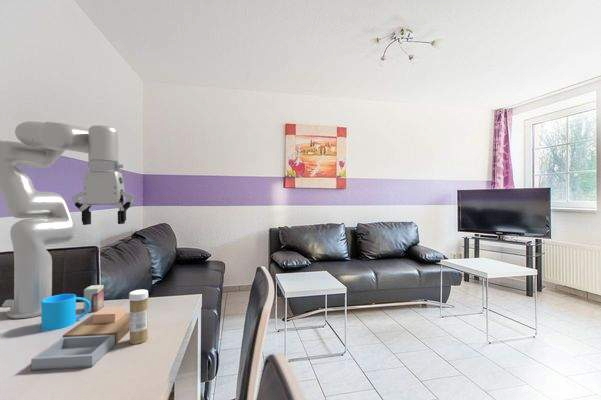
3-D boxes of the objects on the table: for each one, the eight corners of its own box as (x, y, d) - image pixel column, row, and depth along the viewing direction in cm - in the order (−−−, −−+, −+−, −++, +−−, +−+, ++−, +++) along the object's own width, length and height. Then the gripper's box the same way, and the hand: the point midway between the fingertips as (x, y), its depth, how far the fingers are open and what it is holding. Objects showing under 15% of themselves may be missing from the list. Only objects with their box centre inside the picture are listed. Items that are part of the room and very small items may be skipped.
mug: (41, 333, 84) (41, 304, 84) (41, 324, 90) (41, 297, 90) (92, 321, 92) (92, 295, 92) (88, 314, 98) (89, 289, 98)
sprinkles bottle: (148, 335, 83) (148, 288, 83) (147, 342, 79) (148, 292, 79) (129, 338, 81) (129, 290, 81) (128, 346, 77) (128, 295, 77)
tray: (31, 370, 66) (31, 359, 66) (62, 347, 76) (62, 337, 76) (92, 367, 68) (92, 355, 68) (114, 344, 78) (115, 334, 78)
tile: (92, 323, 84) (92, 314, 84) (103, 315, 90) (103, 307, 90) (115, 322, 85) (115, 313, 85) (124, 314, 91) (124, 306, 91)
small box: (97, 311, 101) (98, 288, 101) (83, 312, 100) (83, 289, 100) (104, 306, 105) (104, 284, 105) (90, 307, 104) (90, 285, 104)
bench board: (62, 346, 77) (62, 335, 77) (93, 324, 90) (93, 314, 90) (116, 344, 78) (116, 332, 78) (138, 322, 92) (138, 312, 92)
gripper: (139, 169, 94) (139, 222, 94) (80, 169, 92) (80, 224, 92) (128, 166, 87) (129, 224, 86) (64, 166, 84) (64, 225, 84)
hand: (104, 224), depth 89 cm, fingers open, 9 cm apart
